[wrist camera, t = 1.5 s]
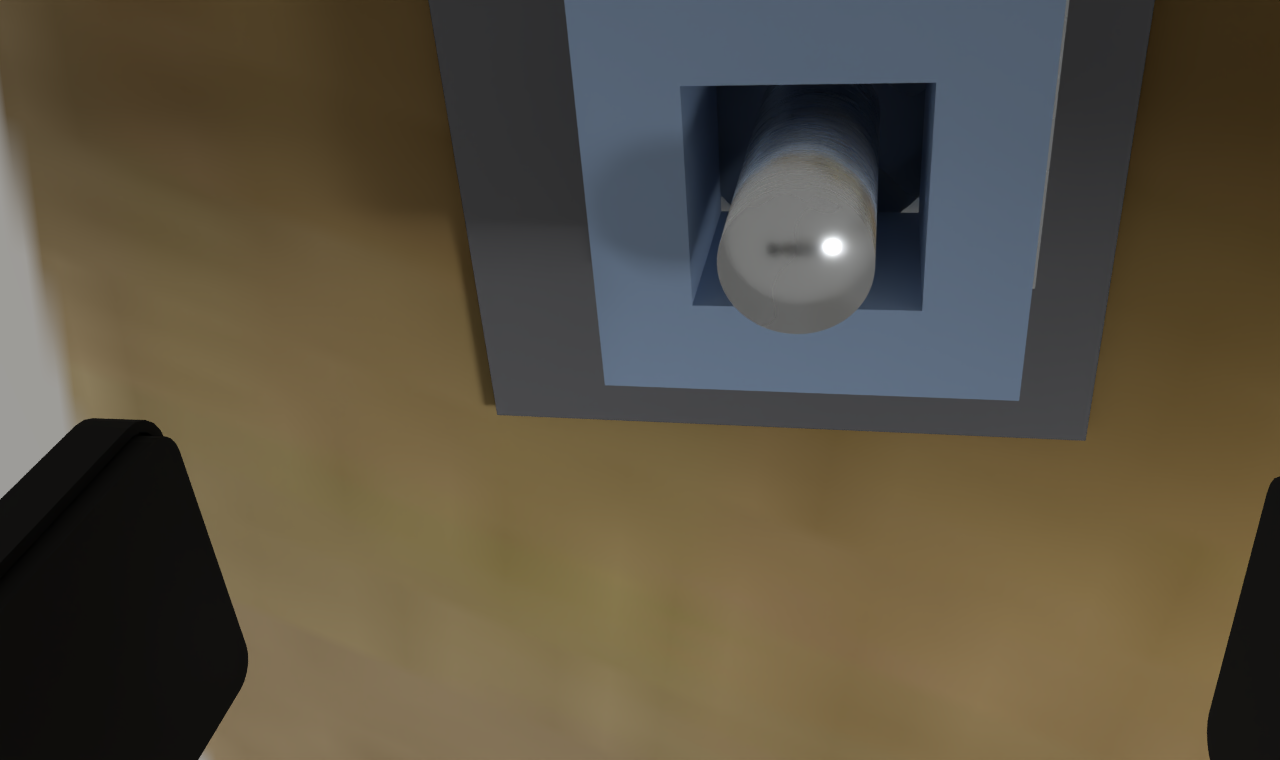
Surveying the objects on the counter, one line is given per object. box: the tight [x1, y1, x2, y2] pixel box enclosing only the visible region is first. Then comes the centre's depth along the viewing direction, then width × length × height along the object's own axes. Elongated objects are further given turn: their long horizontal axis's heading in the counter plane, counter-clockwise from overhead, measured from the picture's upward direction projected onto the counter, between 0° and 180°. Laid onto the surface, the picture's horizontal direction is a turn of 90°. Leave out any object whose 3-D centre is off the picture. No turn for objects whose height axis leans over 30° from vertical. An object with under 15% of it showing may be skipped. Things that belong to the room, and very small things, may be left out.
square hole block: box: [564, 0, 1066, 401], centre depth 18 cm, size 6×6×4 cm
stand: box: [716, 0, 1069, 334], centre depth 18 cm, size 8×8×8 cm
